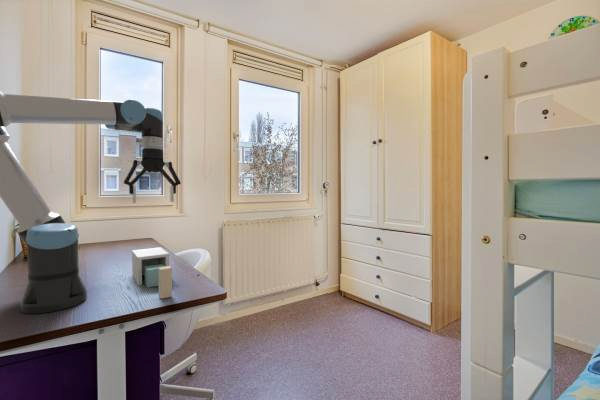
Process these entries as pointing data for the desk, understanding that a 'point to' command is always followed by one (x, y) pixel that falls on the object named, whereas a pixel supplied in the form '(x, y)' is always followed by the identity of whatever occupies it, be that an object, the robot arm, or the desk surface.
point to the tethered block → (159, 279)
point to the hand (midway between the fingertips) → (153, 202)
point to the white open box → (147, 261)
